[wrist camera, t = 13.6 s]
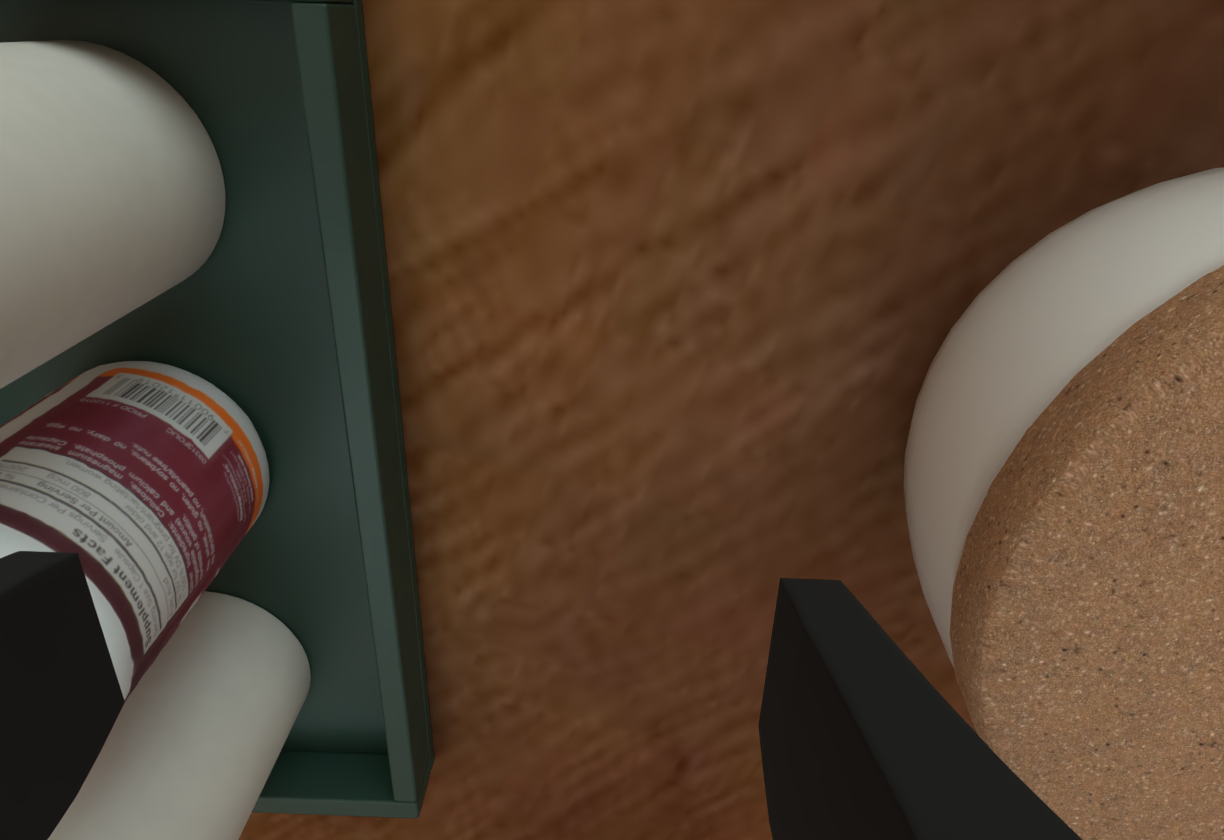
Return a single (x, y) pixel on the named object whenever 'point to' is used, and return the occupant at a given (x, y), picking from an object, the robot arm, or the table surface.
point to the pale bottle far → (196, 731)
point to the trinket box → (1088, 513)
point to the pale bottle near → (94, 194)
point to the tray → (289, 365)
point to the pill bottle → (133, 494)
